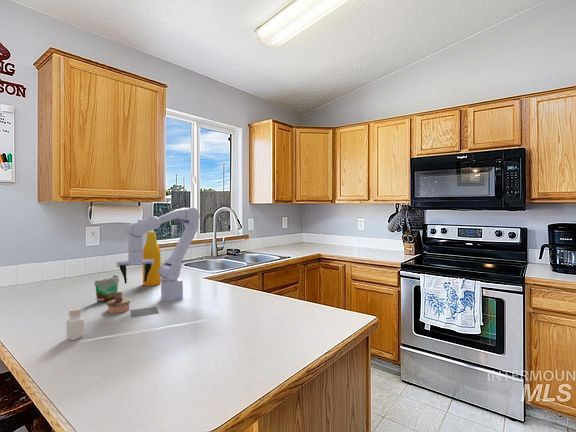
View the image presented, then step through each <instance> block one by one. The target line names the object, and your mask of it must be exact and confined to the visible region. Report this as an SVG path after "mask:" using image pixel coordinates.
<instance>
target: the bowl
mask: <svg viewBox="0 0 576 432" xmlns="http://www.w3.org/2000/svg"><path fill="white" fill-rule="evenodd" d="M107 308H108V309H107V311H108V313H110V314H111V313H112V314H115V313H123V312H126V311H130V303H129V304H127V305H123V306H117V307H110V306H107Z"/></svg>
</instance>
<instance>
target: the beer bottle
mask: <svg viewBox="0 0 576 432" xmlns="http://www.w3.org/2000/svg"><path fill="white" fill-rule="evenodd" d="M157 241H158V240H157V234H156V231H155V230H151V231H149V232H146V241H145V244H144V245H143V260H154V264H153V265H152V266H151V269H150V271H149V273H148V276H147V281H146V282H145V281H144V275H145V266H144V265H142V285H143V286H144V287H145V286H146V287H153V286H158V285H161V276H160V275H159V268H160V267H161V266H162V265H161V263H162V262H161V261H162V260H161V249H160V245H159V244H158V242H157Z"/></svg>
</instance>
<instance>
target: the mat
mask: <svg viewBox="0 0 576 432" xmlns="http://www.w3.org/2000/svg"><path fill="white" fill-rule="evenodd" d="M129 313H130V318H138V317H146V316H150V315H157V314H158V315H159V314H160V312H159V310H158V307H157V306H150V307H143V308H135V309H129Z"/></svg>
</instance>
